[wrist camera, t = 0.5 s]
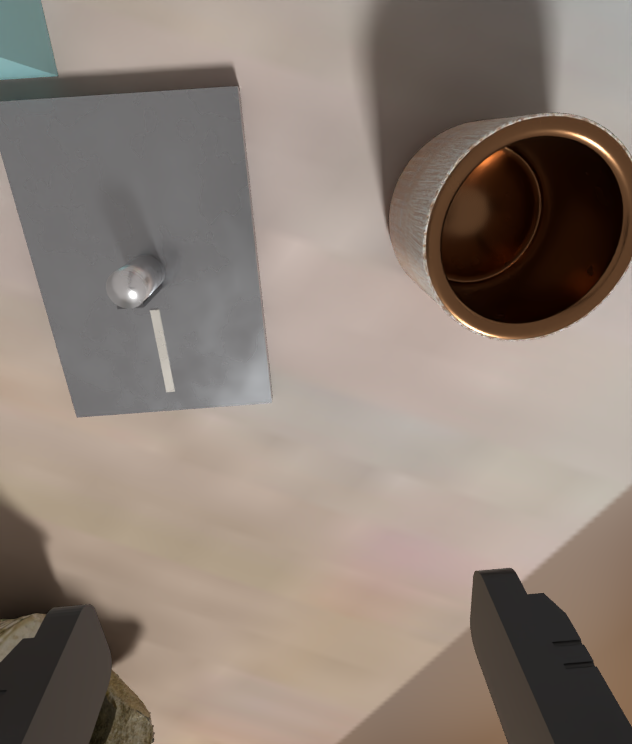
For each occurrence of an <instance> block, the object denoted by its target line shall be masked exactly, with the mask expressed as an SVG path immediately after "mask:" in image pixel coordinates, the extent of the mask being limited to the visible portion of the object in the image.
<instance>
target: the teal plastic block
mask: <svg viewBox="0 0 632 744" xmlns="http://www.w3.org/2000/svg"><path fill="white" fill-rule="evenodd" d="M53 76H58V73H57V69H56V64H55V60H54V56H53V51H52V47H51V43H50V38H49V34H48V30H47V25H46V21H45V17H44V13H43V8H42V4H41V0H0V80H7V79H22V78H38V77H53Z"/></svg>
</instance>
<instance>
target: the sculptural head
mask: <svg viewBox="0 0 632 744" xmlns="http://www.w3.org/2000/svg"><path fill="white" fill-rule="evenodd" d="M45 616H46V614H39V613H35V614H31V615H28V616H22V617H19V618H17V619H0V662H1V661H2V660H3V659H4V658H5V657H6V656H7V655H8V654H9V653H10V652H11V650H12V649H13V648H14V647H15V646H16V645H17V644H18V643H19V642H20V641H21V640H22V639H24V638H34V637H35V635H36V633H37V631H38V629H39V627H40V625H41V623H42V621H43V620H44V618H45ZM150 713H151V712H150ZM150 713H149V712H148V710H147V709H146V707H145V705H144V704H143V702H142V701H141V700H140V699H139V698H138V696H137V695H136V694H135V693H134V692H133V691H132V690H131V689H130V688H129V687H128V686H127V685H126V684H125V683H124V682H123V681H122V680H121V679H120V678H119V676H118V675H117V674H116V673H115V672H114V671H112V669H111V677H110V682H109V685H108V689H107V692H106V695H105V698H104V700H103V703H102V706H101V709H100V712H99V715H98V718H97V721H96V724H95V727H94V730H93V733H92V736H91V739H90V742H89V744H151V743H153V742H154V738H153V737H154V734H155V732H154V733H153V727H154V726H153V725H152V723H151V718H150V716H151V715H150Z"/></svg>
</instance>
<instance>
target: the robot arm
mask: <svg viewBox="0 0 632 744" xmlns="http://www.w3.org/2000/svg"><path fill="white" fill-rule="evenodd" d="M470 628H471V635H472V640H473V645H474V649H475V652H476V655H477V658H478V661H479V664H480V666H481V669H482V672H483V675H484V677H485V680H486V683H487V686H488V689H489V691H490V694H491V697H492V699H493V703H494V705H495V708H496V711H497V714H498V716H499V719H500V722H501V725H502V728H503V731H504V733H505V736H506V739H507V742H508V744H632V727H631V725H630V723H629V721H628V720H627V718H626V716H625V715H624V713H623V711H622V709H621V708H620V706H619V704H618V702H617V701H616V699H615V697H614V696H613V694H612V692H611V691H610V689H609V687H608V685H607V684H606V682H605V680H604V678H603V677H602V675H601V673H600V671H599V670H598V668H597V667H595V666H594V663H593V660H592V658H591V656H590V654H589V652H588V651H587V649H586V647H585V646H584V645H582V643H581V639H580V637H579V635H578V634H577V632H576V630H575V628H574V627H573V625H572V623H571V621H570V620H569V618H568V616H567V615H566V613H565V612H563V611H562V610H561V609H560V608H559V607H558V606H557V605H556V604H555V603H554V602H553V601H551V600H550V599H549V598H548V597H547V596H546V595H545V594H544V593H538V594H527V593H526V591H525V589H524V587H523V585H522V583H521V581H520V579H519V578H518V576H517V574H516V572H515V571H514V570H513V569H512V568H503V569H492V570H481V571H475V573H474V576H473V588H472V602H471V615H470ZM111 669H112V658H111V652H110V649H109V646H108V643H107V641H106V638H105V635H104V632H103V630H102V627H101V624H100V622H99V619H98V616H97V613H96V611H95V608H94V607H93V606H92V605H90V604H88V605H77V606H66V607H55V608H52V609H51V610H50V611H49V612H48V613H47V614H46V616H45V618H44V620H43V621H42V623H41V625H40V627H39V629H38V631H37V633H36V635H35V637H34V638H24V639H22V640H21V641H20V642H19V643H18V644H17V645H16V646H15V647H14V648H13V649H12V650H11V652H10V653H9V654H8V655H7V656H6V657H5V658H4V659H3V660H2V661H1V662H0V744H89V742H90V739H91V736H92V733H93V730H94V727H95V724H96V721H97V718H98V715H99V712H100V709H101V706H102V703H103V700H104V698H105V695H106V692H107V689H108V685H109V682H110V677H111Z"/></svg>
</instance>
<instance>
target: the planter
mask: <svg viewBox="0 0 632 744" xmlns="http://www.w3.org/2000/svg"><path fill="white" fill-rule="evenodd" d="M389 230H390V237H391V242H392V245H393V249H394V252H395V254H396V257H397V259H398V261H399V263H400V264H401V266H402V268H403V269H404V271H405V272H406V273H407V274H408V276H409V277H410V278H411V279H412V280H413V281H414V282H415V283H416V284H417V285H418V286H419V287H420V288H421V289H422V290H424V291H425V292H426V293H427V294H428V295H429V296H430V297H431V298H432V299H433V300H434V301H435V302H436V303H437V304H438V305H439V306H440V307H441V308H442V309H443V310H444V311H445V312H446V313H447V314H448V315H449V316H450V317H451V318H452V319H453V320H454V321H456V322H457V323H458V324H460V325H461V326H463V327H464V328H466V329H468V330H469V331H471V332H473V333H476V334H478V335H481V336H483V337H487V338H490V339H495V340H502V341H526V340H533V339H538V338H542V337H546V336H549V335H552V334H554V333H557V332H560V331H562V330H564V329H566V328H568V327H570V326H572V325H573V324H575V323H577V322H578V321H580V320H582V319H583V318H584V317H586V316H587V315H589V314H590V313H591V312H592V311H593V310H595V309H596V308H597V307H598V306H599V305H600V304H601V303H602V302H603V301H604V300H605V299H606V298H607V297H608V296H609V295H610V294H611V293H612V291H613V290H614V289H615V288H616V286H617V285H618V284H619V282H620V281H621V279H622V278H623V276H624V275H625V273H626V271H627V269H628V268H629V266H630V264H631V262H632V156H631V154H630V153H629V151H628V150H627V148H626V147H625V146H624V145H623V143H622V142H621V141H620V140H619V139H618V138H617V137H616V136H615V135H614V134H613V133H611V132H610V131H609V130H608V129H606V128H605V127H603V126H601V125H600V124H598V123H596V122H594V121H592V120H589V119H587V118H584V117H581V116H577V115H572V114H566V113H538V114H531V115H524V116H516V117H508V118H499V119H489V120H480V121H473V122H468V123H464V124H461V125H458V126H455V127H453V128H450V129H448V130H446V131H444V132H442V133H441V134H439V135H437V136H436V137H434V138H433V139H432V140H430V141H429V142H428V143H426V144H425V145H424V146H423V147H422V148H421V149H420V150H419V151H418V152H417V153H416V154H415V155H414V156H413V157H412V159H411V160H410V161H409V163H408V164H407V165H406V167H405V169H404V170H403V172H402V174H401V176H400V177H399V180H398V182H397V184H396V186H395V189H394V192H393V196H392V200H391V205H390V211H389Z"/></svg>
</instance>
